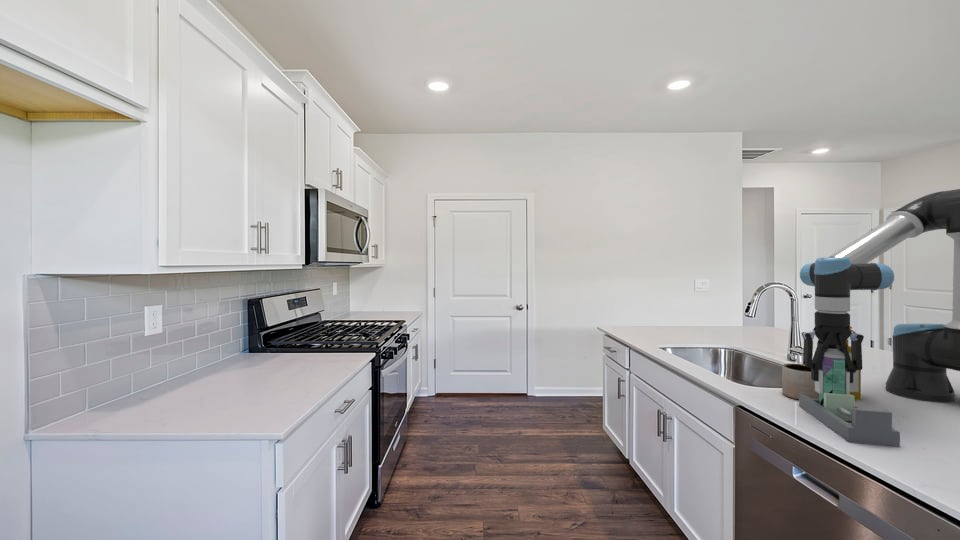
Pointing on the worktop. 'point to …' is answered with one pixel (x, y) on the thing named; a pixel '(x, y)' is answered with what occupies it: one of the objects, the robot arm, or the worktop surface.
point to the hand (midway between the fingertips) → (831, 392)
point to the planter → (798, 381)
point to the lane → (856, 423)
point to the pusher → (840, 405)
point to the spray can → (833, 372)
